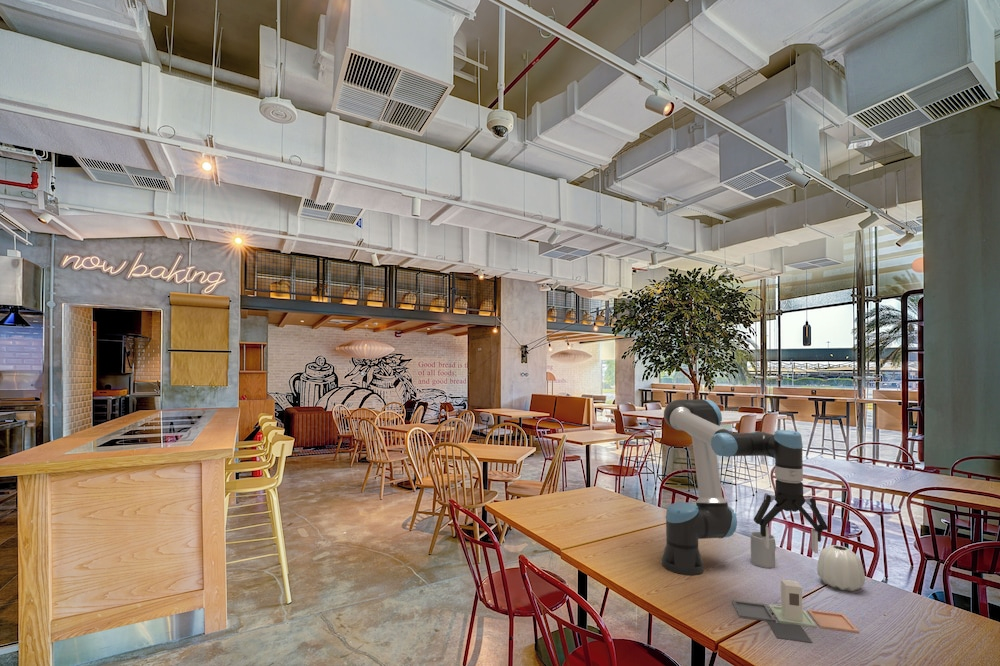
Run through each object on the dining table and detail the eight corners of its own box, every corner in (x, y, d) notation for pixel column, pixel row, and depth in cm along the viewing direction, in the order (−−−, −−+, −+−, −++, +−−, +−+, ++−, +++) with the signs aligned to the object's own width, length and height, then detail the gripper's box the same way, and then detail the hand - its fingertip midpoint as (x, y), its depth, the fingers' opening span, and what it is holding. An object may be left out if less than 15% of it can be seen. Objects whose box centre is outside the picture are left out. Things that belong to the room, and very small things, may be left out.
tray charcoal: (739, 618, 147) (739, 615, 147) (732, 603, 156) (732, 600, 156) (775, 623, 144) (775, 620, 144) (765, 607, 154) (765, 604, 154)
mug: (766, 569, 183) (766, 540, 184) (746, 561, 190) (745, 533, 191) (785, 564, 189) (784, 535, 189) (764, 556, 196) (763, 529, 197)
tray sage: (779, 624, 144) (779, 620, 144) (769, 607, 154) (769, 604, 154) (816, 628, 142) (816, 625, 142) (803, 612, 151) (803, 608, 151)
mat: (777, 639, 136) (777, 637, 136) (767, 623, 144) (767, 621, 144) (812, 644, 133) (812, 642, 134) (800, 627, 142) (800, 625, 142)
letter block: (786, 619, 146) (785, 585, 147) (781, 612, 150) (780, 579, 151) (802, 621, 145) (802, 587, 146) (797, 614, 149) (796, 581, 150)
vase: (852, 598, 161) (850, 557, 162) (809, 581, 174) (808, 543, 174) (873, 590, 168) (872, 551, 168) (830, 574, 180) (829, 538, 181)
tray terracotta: (820, 629, 141) (820, 625, 141) (807, 612, 151) (807, 609, 151) (859, 634, 139) (859, 631, 139) (843, 617, 149) (843, 613, 149)
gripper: (749, 480, 150) (750, 549, 148) (839, 486, 144) (841, 558, 142) (742, 474, 157) (743, 540, 156) (828, 480, 151) (830, 549, 150)
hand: (790, 549), depth 149 cm, fingers open, 13 cm apart
